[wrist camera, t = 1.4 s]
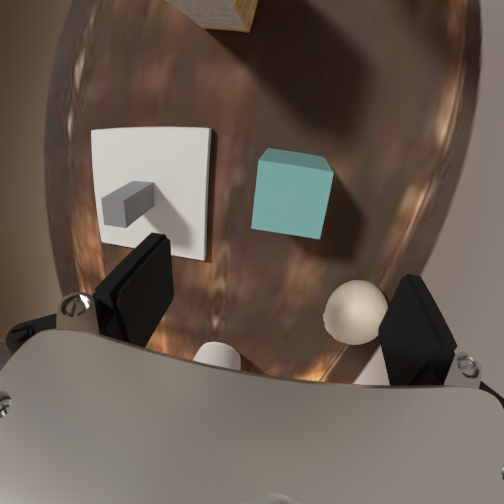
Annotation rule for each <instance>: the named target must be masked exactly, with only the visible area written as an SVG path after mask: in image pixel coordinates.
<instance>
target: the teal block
mask: <svg viewBox="0 0 504 504" xmlns="http://www.w3.org/2000/svg"><path fill="white" fill-rule="evenodd" d="M333 174H334V172H333V170H332V169H331V167H330V165H329V164H328V162H327V161H326V159H325V158H324V157H321V156H315V155H310V154H304V153H298V152H291V151H285V150H278V149H270V148H268V149H267V150H266V151H265V153H264V154H263V155H262V157H261V158H260V159H259V162H258V171H257V181H256V190H255V199H254V208H253V218H252V227H251V228H252V229H258V230H265V231H271V232H278V233H284V234H290V235H296V236H302V237H308V238H314V239H320V236H321V232H322V227H323V223H324V218H325V214H326V209H327V204H328V199H329V195H330V190H331V185H332V179H333Z"/></svg>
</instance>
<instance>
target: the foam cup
mask: <svg viewBox="0 0 504 504" xmlns="http://www.w3.org/2000/svg"><path fill="white" fill-rule="evenodd" d="M193 361H197V362H201V363H206V364H210V365H215V366H220V367H224V368H229V369H235V370H240V366H241V362H240V361H241V358H240V355H239V353H238V352H237V351H236V350H235V349H234V348H233V347H231V346H228V345H226V344H224V343H219V342H209V343H205V344H204V345H203V346H201V348H200V349H199V351H198V352H197V354H196V356H195V357H194V359H193Z"/></svg>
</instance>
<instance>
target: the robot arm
mask: <svg viewBox="0 0 504 504" xmlns="http://www.w3.org/2000/svg"><path fill="white" fill-rule="evenodd" d="M95 291H96V292H95V293H94V294H93V295H92V296H91V295H90V294H88V293H84V292H76V293H72V294H69V295H67V296H66V297H64V298H63V299H62V300H61V301H60V302H59V304H58V306H57V313H56V314H53V315H49V316H45V317H42V318H38V319H34V320H31V321H27V322H23V323H20V324H18V325H16V326H14V327H13V328H12V329H11V330H10V331H9V333H8V335H7V337H6V342H4V341H3V340H0V504H504V398H502V397H501V396H500V395H499V394H497V393H496V392H495V391H493V390H492V389H491V388H490V387H488V386H487V385H486V384H484V383H483V382H482V381H481V377H482V369H481V366H480V364H479V362H478V361H477V360H476V359H475V358H474V357H473V356H472V355H470V354H468V353H465V352H459V353H457V354H456V355H455V353H454V350H455V349H456V348H457V344H456V342H455V340H454V338H453V335H452V333H451V331H450V329H449V327H448V325H447V324H446V322H445V319H444V317H443V316H442V314H441V312H440V310H439V308H438V306H437V304H436V303H435V301H434V299H433V297H432V295H431V293H430V292H429V290H428V289H427V287H426V285H425V283H424V282H423V280H422V278H421V277H420V276H417V275H411V274H407V275H406V276H405V277H402V278H401V280H400V283H399V285H398V287H397V289H396V292H395V294H394V296H393V298H392V301H391V303H390V305H389V307H388V309H387V311H386V313H385V315H384V317H383V319H382V321H381V323H380V325H379V328H378V336H379V340H380V344H381V348H382V352H383V356H384V360H385V365H386V369H387V373H388V379H389V383H390V386H384V385H382V386H381V385H380V386H379V385H356V384H340V383H328V382H317V381H307V380H299V379H291V378H283V377H276V376H269V375H263V374H257V373H251V372H245V371H240V370H235V369H229V368H224V367H220V366H215V365H210V364H206V363H201V362H197V361H193V360H189V359H185V358H181V357H177V356H173V355H169V354H166V353H162V352H158V351H155V350H151V349H147V348H145V347H146V345H147V343H148V341H149V340H150V338H151V336H152V334H153V333H154V331H155V329H156V327H157V326H158V324H159V322H160V321H161V319H162V317H163V316H164V314H165V312H166V310H167V309H168V307H169V305H170V304H171V302H172V300H173V296H174V289H173V276H172V261H171V243H170V239H168V238H167V237H166V235H165V234H159V233H153V232H152V233H150V234H149V235H148V236H147V237H146V238H145V239H144V240H143V241H142V242H141V243H140V244H139V245H138V246H137V247H136V248H135V249H134V250H133V251H132V252H131V253H130V254H128V255H127V256H126V257H125V258H124V259H123V260H122V261H121V262H120V263H119V265H118V266H117V267H116V268H115V269H114V270H113V271H112V272H111V273H110V274H109V275H108V276H107V277H106V278H105V279H104V280H103V281H102V282H101V283H100V284H99V285H98V286H97V287H96V288H95Z"/></svg>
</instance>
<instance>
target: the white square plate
mask: <svg viewBox="0 0 504 504" xmlns="http://www.w3.org/2000/svg"><path fill="white" fill-rule="evenodd" d="M211 132H212V128H198V127H129V128H110V129H97V130H92V131H91V139H92V163H93V177H94V189H95V198H96V207H97V214H98V222H99V228H100V234H101V240H102V242H105V243H110V244H115V245H120V246H126V247H131V248H136V247H137V246H138V245H139V244H140V243H141V242H142V241H143V240H144V239H145V238H146V237H147V236H148V235H149V234H150V233H152V232H153V233H159V234H165V235H166V237H167V238H168V239H170V243H171V255H175V256H180V257H186V258H192V259H197V260H203V261H204V260H205V258H206V241H207V206H208V182H209V163H210V146H211Z"/></svg>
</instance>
